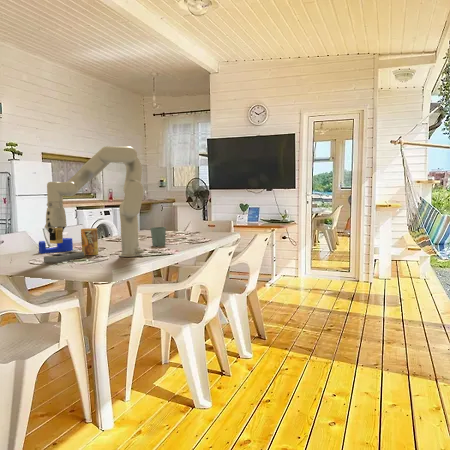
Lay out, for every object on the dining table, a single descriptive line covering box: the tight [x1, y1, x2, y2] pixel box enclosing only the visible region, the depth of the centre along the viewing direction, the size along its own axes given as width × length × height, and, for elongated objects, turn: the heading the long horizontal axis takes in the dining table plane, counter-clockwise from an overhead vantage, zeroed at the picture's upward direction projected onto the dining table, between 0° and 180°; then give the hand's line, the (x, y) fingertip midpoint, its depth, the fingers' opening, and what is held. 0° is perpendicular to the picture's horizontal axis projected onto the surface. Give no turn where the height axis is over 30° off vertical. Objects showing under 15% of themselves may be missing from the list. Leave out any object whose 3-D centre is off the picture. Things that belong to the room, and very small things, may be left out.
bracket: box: [38, 237, 74, 255], centre depth 251 cm, size 20×9×8 cm, turn 134°
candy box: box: [80, 227, 99, 256], centre depth 235 cm, size 9×4×15 cm, turn 104°
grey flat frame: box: [43, 250, 85, 264], centre depth 219 cm, size 20×9×3 cm, turn 158°
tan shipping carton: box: [49, 227, 64, 245], centre depth 214 cm, size 5×4×8 cm
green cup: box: [150, 226, 167, 247], centre depth 270 cm, size 10×10×12 cm
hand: (56, 239), depth 214 cm, fingers closed on tan shipping carton, 4 cm apart
